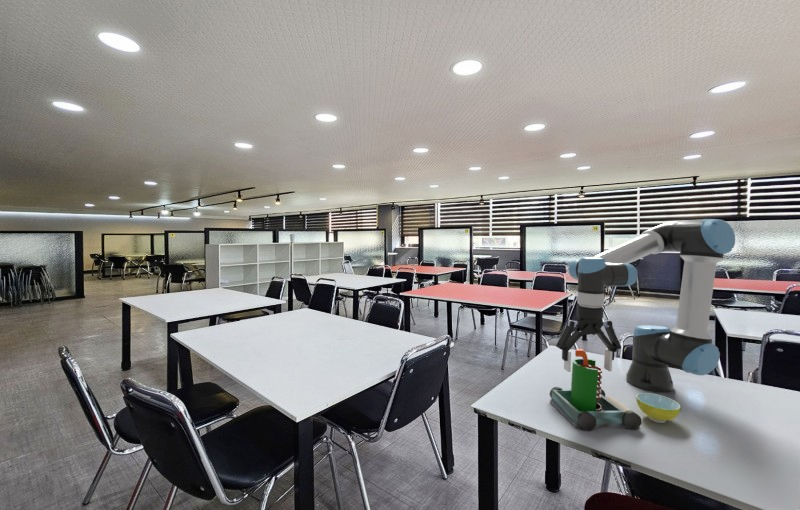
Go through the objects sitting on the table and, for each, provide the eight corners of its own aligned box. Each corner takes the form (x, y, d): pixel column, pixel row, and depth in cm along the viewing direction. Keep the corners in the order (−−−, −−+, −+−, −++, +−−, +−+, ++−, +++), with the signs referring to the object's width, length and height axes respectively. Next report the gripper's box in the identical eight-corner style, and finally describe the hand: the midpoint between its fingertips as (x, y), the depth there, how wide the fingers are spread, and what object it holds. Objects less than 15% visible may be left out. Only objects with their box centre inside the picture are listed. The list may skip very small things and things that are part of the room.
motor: (606, 420, 108) (609, 357, 107) (575, 417, 110) (577, 354, 108) (594, 404, 118) (597, 346, 117) (566, 401, 119) (568, 344, 118)
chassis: (602, 399, 124) (603, 386, 124) (642, 429, 105) (643, 413, 105) (548, 400, 123) (548, 386, 123) (578, 430, 104) (578, 414, 104)
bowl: (689, 427, 106) (690, 408, 106) (657, 430, 104) (658, 410, 104) (656, 409, 117) (657, 391, 117) (626, 411, 115) (627, 393, 115)
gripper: (619, 303, 116) (616, 365, 117) (546, 303, 115) (544, 366, 116) (635, 307, 109) (632, 374, 110) (558, 308, 107) (555, 375, 109)
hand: (587, 370), depth 113 cm, fingers open, 13 cm apart
